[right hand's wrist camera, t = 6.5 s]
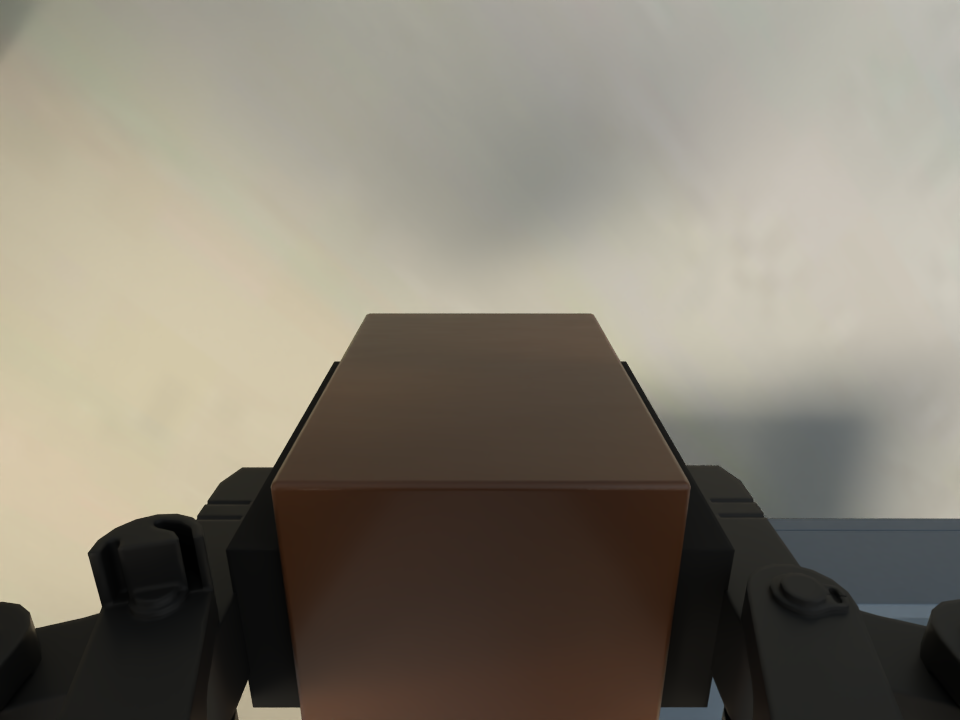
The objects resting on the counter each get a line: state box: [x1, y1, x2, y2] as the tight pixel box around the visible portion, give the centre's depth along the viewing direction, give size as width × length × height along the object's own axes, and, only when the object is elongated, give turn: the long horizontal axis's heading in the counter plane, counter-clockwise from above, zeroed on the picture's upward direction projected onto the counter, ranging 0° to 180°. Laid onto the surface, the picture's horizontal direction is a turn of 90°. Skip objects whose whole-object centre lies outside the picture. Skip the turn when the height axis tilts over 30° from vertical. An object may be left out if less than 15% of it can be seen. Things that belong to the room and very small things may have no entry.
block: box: [271, 314, 691, 720], centre depth 12 cm, size 5×5×7 cm
